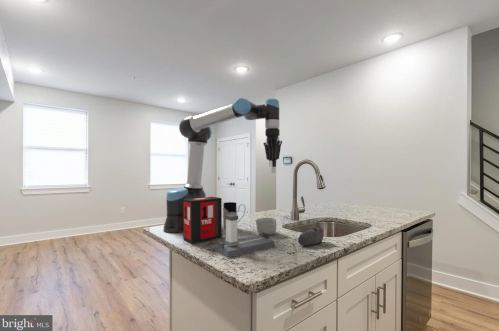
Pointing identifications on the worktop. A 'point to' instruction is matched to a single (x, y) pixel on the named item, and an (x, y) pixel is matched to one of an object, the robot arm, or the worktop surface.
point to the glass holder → (230, 211)
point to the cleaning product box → (202, 219)
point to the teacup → (266, 225)
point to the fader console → (245, 245)
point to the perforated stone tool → (311, 237)
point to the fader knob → (231, 230)
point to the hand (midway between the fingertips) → (272, 172)
